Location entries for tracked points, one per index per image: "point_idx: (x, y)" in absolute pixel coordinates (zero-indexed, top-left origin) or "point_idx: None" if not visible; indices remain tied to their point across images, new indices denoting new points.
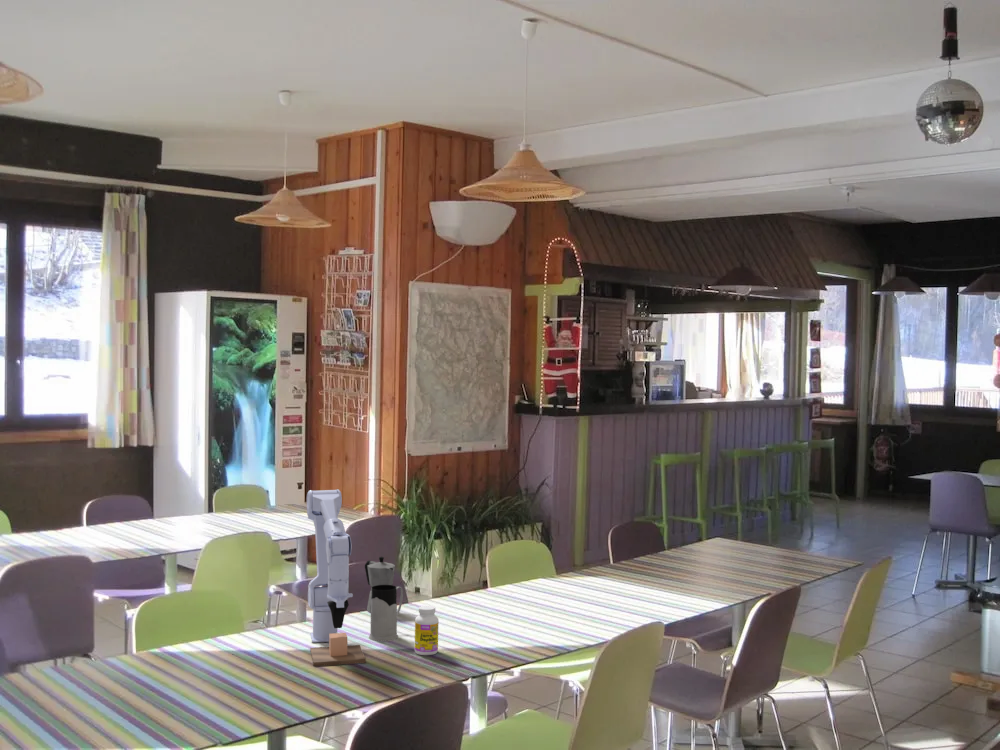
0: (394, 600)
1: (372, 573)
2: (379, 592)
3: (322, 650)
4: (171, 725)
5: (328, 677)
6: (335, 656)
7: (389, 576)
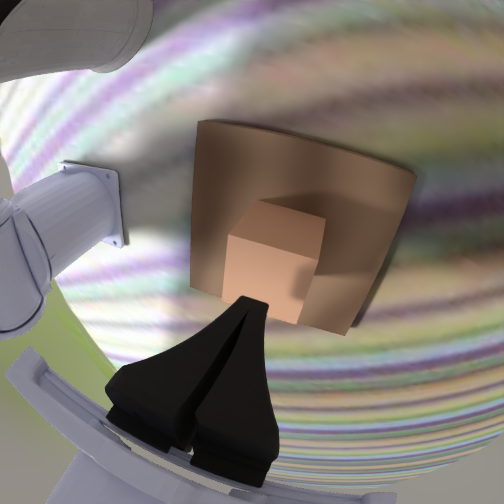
0: None
1: None
2: None
3: None
4: (431, 461)
5: (457, 327)
6: (320, 262)
7: None
